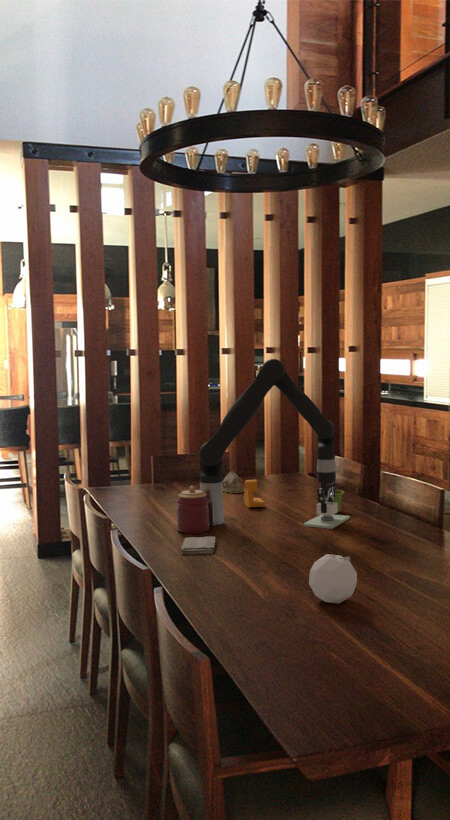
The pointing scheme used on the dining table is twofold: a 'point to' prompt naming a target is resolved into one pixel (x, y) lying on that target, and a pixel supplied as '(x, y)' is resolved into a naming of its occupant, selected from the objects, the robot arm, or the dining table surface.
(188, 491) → the canister
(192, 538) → the washcloth
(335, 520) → the stand
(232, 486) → the ceramic model
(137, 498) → the dining table surface
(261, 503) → the bracket
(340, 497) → the plant pot
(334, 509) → the white hollow square block
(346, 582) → the geodesic sphere
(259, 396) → the robot arm
